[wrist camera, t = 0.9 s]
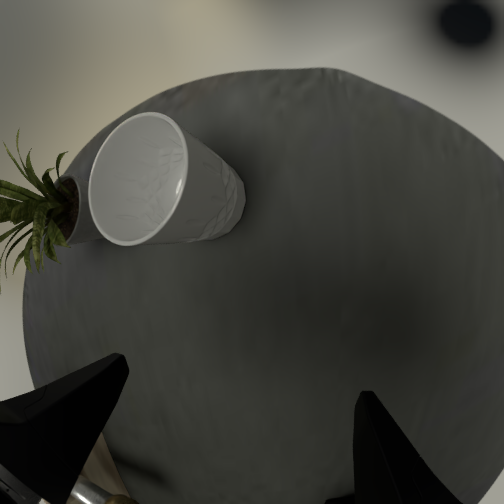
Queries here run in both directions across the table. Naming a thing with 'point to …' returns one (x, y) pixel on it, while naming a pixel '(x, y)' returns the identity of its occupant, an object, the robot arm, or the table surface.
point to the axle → (97, 494)
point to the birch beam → (101, 471)
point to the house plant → (47, 212)
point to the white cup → (161, 185)
